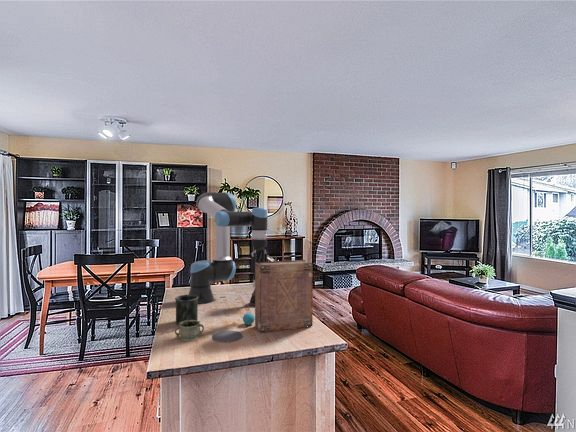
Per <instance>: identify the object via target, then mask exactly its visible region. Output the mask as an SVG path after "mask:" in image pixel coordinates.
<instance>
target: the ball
mask: <svg viewBox="0 0 576 432" xmlns="http://www.w3.org/2000/svg"><path fill="white" fill-rule="evenodd" d="M242 321H243V323H244V324H245V325H247V326H248V325H252V324H253V323H255V314H253V313H252V312H245V314H244V315H243V316H242Z"/></svg>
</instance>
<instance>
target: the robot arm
mask: <svg viewBox="0 0 576 432" xmlns="http://www.w3.org/2000/svg"><path fill="white" fill-rule="evenodd" d="M196 207H197V209H198V210H199V211H201V212H202V213H206V214H208V215H209V216H210V217H212V218H213V219H214V222H215V249H214V250H215V252H214V253H215V255H214V257H213V258H212V261H211V260H207V259H204V260H198V261H197V260H196V261H195V262H193V263H191V265H190V270H189V273H190V274H189V275H190V276H189V277H190V285H189V286H190V288H189V292H188V294H187V295H197V296H198V297H199V298H198V305H201V304H208V303H212V302H213V301H214V293H213V292H212V291H213V290H212V288H211V286H212V285H211V283H213V282H214V283H215V282H223V281H224V282H226V281H230V280H232V279H233V278H234V276H235V274H236V267H237V266H236V262H235V261H233V258H232V257H231V256H230V254H231V253H230V251H231V250H230V249H231V248H230V247H231V246H230V245H231V244H230V243H231V242H230V241H231V235H230V233H231V231H230V230H231V228H230V227H251V238H252V239H251V246H252V247H253V252H251V251H250V273H251V274H252V277H253V281H252V282H253V283H252V285H253V287H254V288H255V263H256V262H268V259H267V255H269V254H268V252H269V250H268V249H266V248H267V247H268V239H267V238H268V208H266V207H253V208H252V210H251V211H250V210H249V211H236V208H237V201H236V197H235V196H234V195H233V194H232V193H231V192H230V193H229V192H212V191H209V192H204V193H201V194H200V195H199V196H198V197H197V199H196Z"/></svg>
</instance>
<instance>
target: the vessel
mask: <svg viewBox="0 0 576 432" xmlns="http://www.w3.org/2000/svg"><path fill="white" fill-rule="evenodd" d="M200 327H201V328H202V330H201V329H200ZM177 330H179V331H178V332H177ZM204 331H205V326H204V325H203V324H202V323H201V322H200V320H186V321H183V322H181V323H179V325H177V326H175V329H174V334H175V335H176V337H175V338H178V339H179V338H180V340H181V341H184V342H192V341H196V340H198V339H199V338H200V336H202V335H203V332H204Z"/></svg>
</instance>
